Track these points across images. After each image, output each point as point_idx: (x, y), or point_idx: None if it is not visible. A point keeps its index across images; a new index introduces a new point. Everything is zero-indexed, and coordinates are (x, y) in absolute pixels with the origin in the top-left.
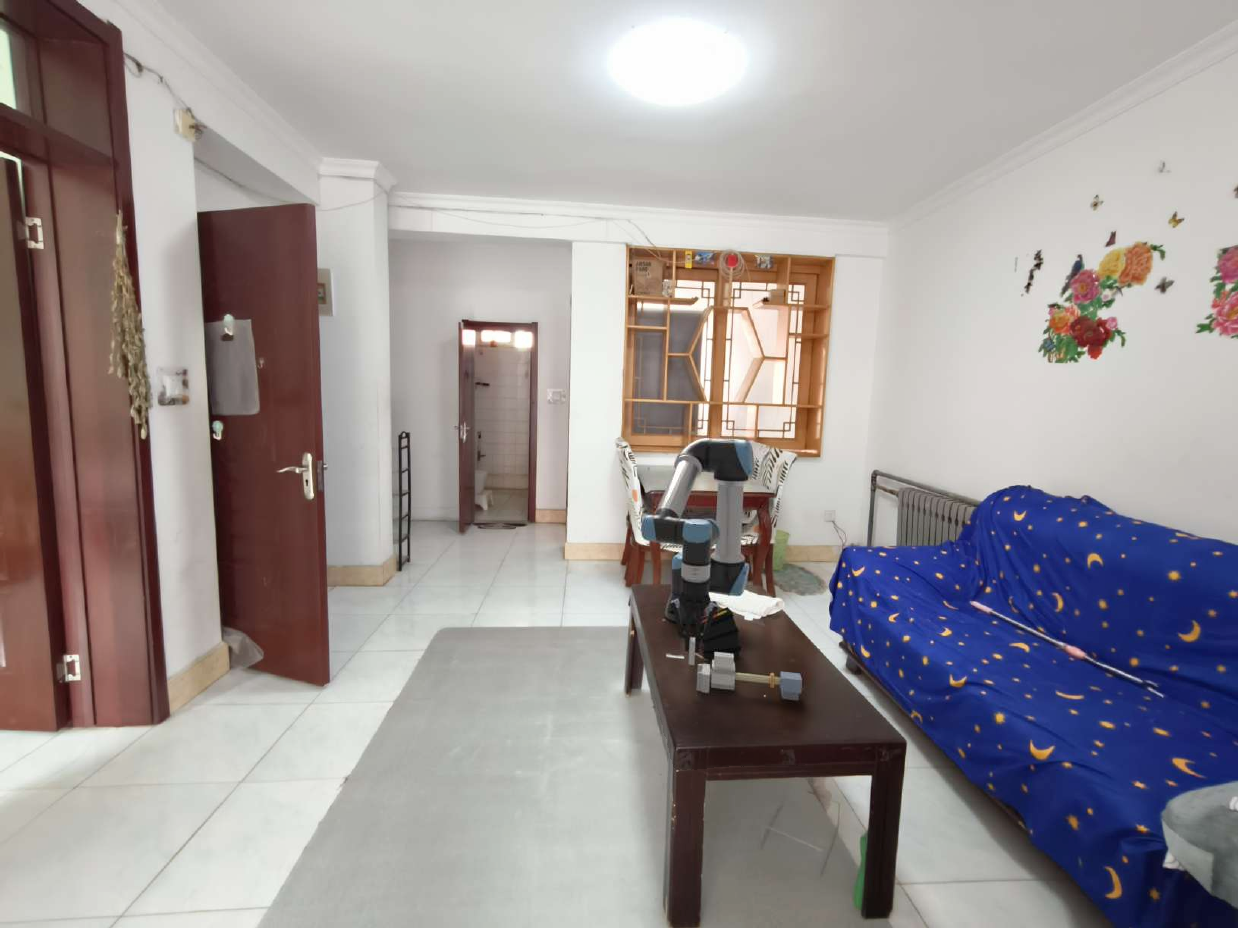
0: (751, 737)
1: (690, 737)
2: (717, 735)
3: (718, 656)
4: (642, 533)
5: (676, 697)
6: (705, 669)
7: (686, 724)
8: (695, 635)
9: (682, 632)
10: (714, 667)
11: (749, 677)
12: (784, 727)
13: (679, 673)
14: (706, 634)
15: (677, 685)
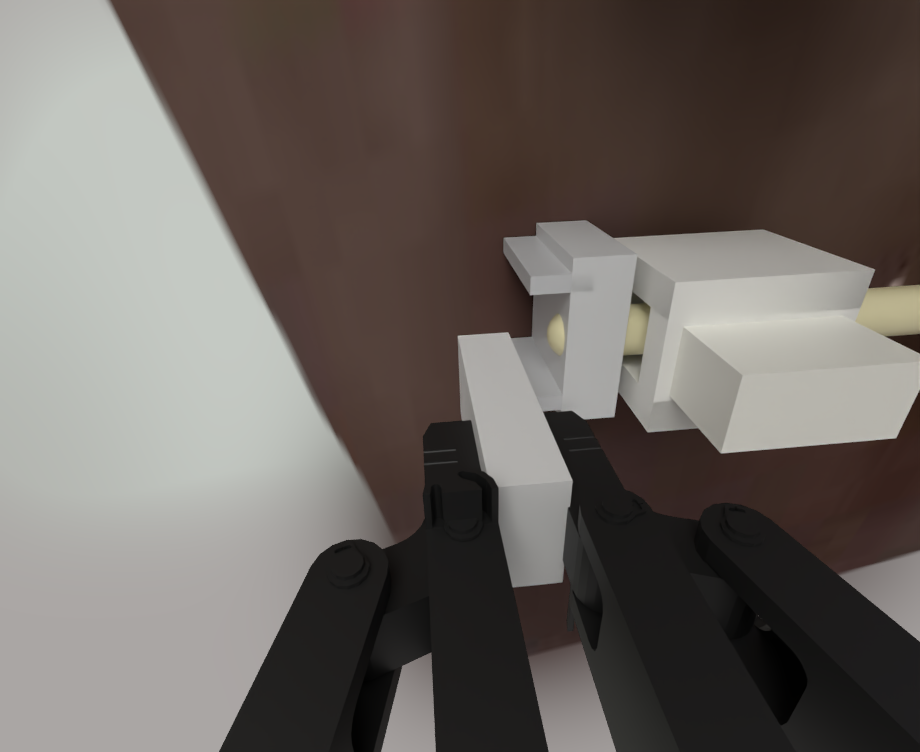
0: None
1: None
2: None
3: (755, 447)
4: None
5: (400, 444)
6: (589, 351)
7: None
8: (590, 661)
9: (387, 718)
10: (670, 407)
11: (890, 335)
12: (856, 508)
13: (362, 155)
14: (771, 672)
15: (382, 328)
